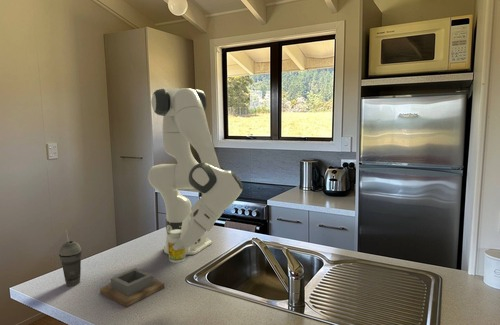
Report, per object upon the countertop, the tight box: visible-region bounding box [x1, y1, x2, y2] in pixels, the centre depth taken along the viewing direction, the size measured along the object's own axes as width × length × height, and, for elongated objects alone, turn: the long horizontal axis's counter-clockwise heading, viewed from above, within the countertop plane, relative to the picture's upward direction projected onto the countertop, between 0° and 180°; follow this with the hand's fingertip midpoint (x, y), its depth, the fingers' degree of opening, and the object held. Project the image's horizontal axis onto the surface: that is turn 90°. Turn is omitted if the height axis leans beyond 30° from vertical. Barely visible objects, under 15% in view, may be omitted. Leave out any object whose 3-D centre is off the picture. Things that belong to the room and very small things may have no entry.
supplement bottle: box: [168, 229, 187, 263], centre depth 110 cm, size 5×5×10 cm
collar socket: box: [99, 267, 165, 308], centre depth 116 cm, size 15×15×5 cm
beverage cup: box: [58, 229, 83, 287], centre depth 120 cm, size 7×7×20 cm
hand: (174, 244), depth 110 cm, fingers closed on supplement bottle, 5 cm apart
